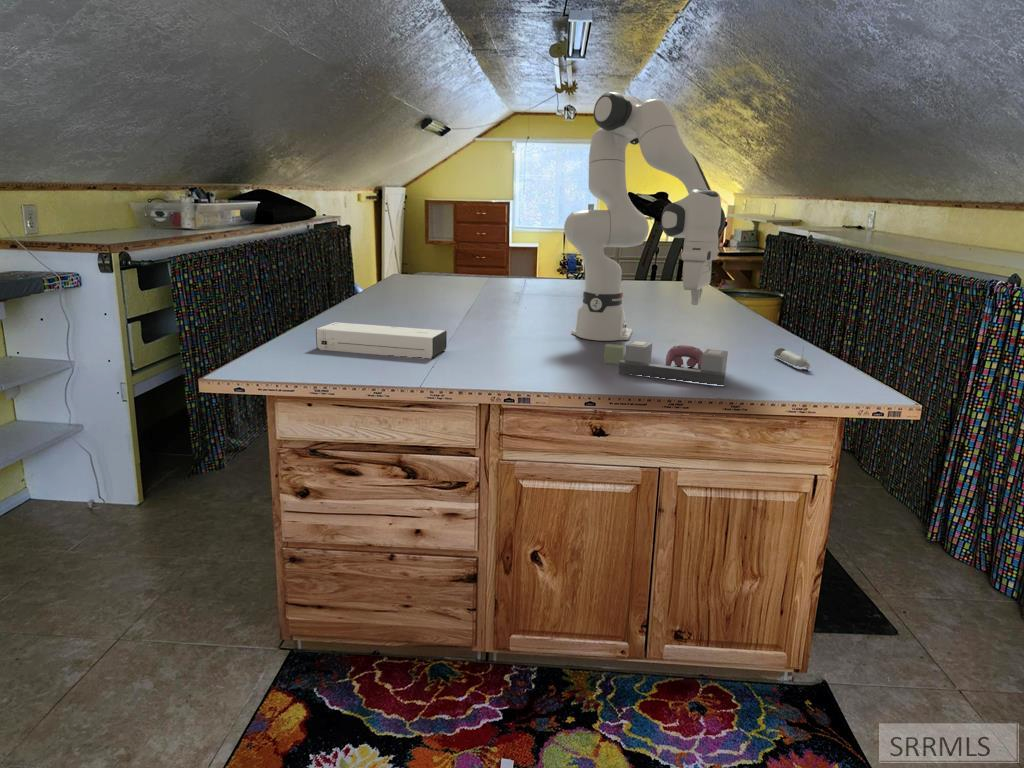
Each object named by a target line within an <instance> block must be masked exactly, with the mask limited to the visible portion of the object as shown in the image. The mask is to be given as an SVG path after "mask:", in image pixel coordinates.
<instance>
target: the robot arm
mask: <svg viewBox="0 0 1024 768" xmlns="http://www.w3.org/2000/svg"><path fill="white" fill-rule="evenodd" d="M596 100H597V101H596V102H595V104H594V107H593V119H594V122H595V124H596V125H597V126H598V127H599V128H598V129H597V130H595V132H593V134H592V136H591V141H590V147H589V155H588V189H589V192H590V194H591V195H592V196H593V197H595V198H597V199H598V200H600V201H602V202H603V203H604V204H605V205H606V208H607V209H581V210H580V209H579V210H577V211H572V212H570V213H569V215H567V217H566V218H565V221H564V225H563V231H564V236H565V238H566V239H567V241H568V242H569V243H570V244H571V245H572V246H573V247H574V248H575V249H576V250H577V251H578V253H579V255H580V257H581V258H582V261H583V264H584V265H583V266H584V282H585V283H584V290H583V292H582V305H581V306H579V308H578V309H577V316H576V325H575V329H572V330H571V334H572V335H574V336H576V337H578V338H582V339H585V340H591V341H603V342H604V341H605V342H608V341H609V342H610V341H629V340H630V338H631V336H632V334H633V329H632V328H628V327H627V314H626V312H625V310H624V308H623V307H622V303H623V297H624V292H623V291H621V288H622V274H623V271H622V267H621V266H620V264H619V263H618V262H617V261H616V260H614V259H612V258H611V257H609V256H607V255H606V254H605V250H604V249H605V248H631V247H637V246H641V245H643V243H644V242H645V241H646V240H647V238H648V236H649V232H650V231H649V230H650V226H649V222H648V218H647V217H646V216H645V214H644V213H642V212H641V211H640V210H638V209H637V207H636V206H635V205H634V204H633V202H632V201H631V198H630V196H629V194H628V193H629V192H628V190H627V182H626V181H627V180H626V179H627V178H626V149H627V146H628V144H629V143H630V144H631V145H633V146H634V145H638V144H639V147H640V151H641V154H642V157H643V159H644V161H646V163H647V164H648V165H649V167H652V168H653V169H655V170H658V171H660V172H663V173H666V174H668V175H670V176H672V177H674V178H676V179H677V180H679V181H680V182H681V183H682V184H683V185H684V187H685V189H686V192H687V194H688V195H686V196H685V197H684V198H682V199H679V200H677V201H674V202H670V203H668V204H667V205H666V206H665V207H664V209H663V210H662V213H661V216H660V226H661V229H662V231H663V233H664V234H665V235H666V236H668V237H670V238H676V239H684V241H683V251H682V253H681V260H682V261H683V266H682V287H683V290H685V291H690V293H691V296H690V297H691V305H693V306H697V305H699V304H700V303H701V297H702V295H703V294H702V293H703V290H704V289H703V288H704V287H707V286H708V285H710V284H711V279H712V262H713V261H716V260H718V259H717V258H718V250H719V236H720V234H721V233H722V231H723V230H724V227H725V226H726V225H725V224H726V214H725V211H724V209H723V207H722V200H721V196H720V193H718V192H717V191H714V190H712V188H711V187H710V185H709V182H708V181H707V178H706V175H705V174H704V172H703V169H702V167H701V165H700V163H699V161H698V160H697V158H696V156H694V154H693V153H692V152H690V150H689V149H688V148H687V146H686V145H685V143H684V142H683V140H682V138H681V135H680V133H679V129H678V127H677V124H676V121H675V119H674V116H673V114H672V112H671V110H670V108H669V107H668V105H667V104H666V102H664V101H663V100H661V99H658V98H653V99H648V100H646V101H644V100H643V99H640V98H639V97H635V96H631V95H627V94H626V95H625V94H622V93H619V92H614V91H611V92H606V93H603V94H602V95H601V96H599V98H598V99H596Z"/></svg>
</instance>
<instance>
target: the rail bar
mask: <svg viewBox="0 0 1024 768" xmlns="http://www.w3.org/2000/svg"><path fill="white" fill-rule="evenodd" d="M618 363H619V364H618V374H619V373H623V374H622V375H626V374H632V375H631V376H633V375H642V376H650V377H659V378H665V379H676V380H683V381H692V382H699V383H707V384H717V385H724V384H726V383H725V382H726V376H727V372H726V373H721V372H713V371H705V370H698V368H697V369H696V368H695V369H694V368H689V367H688V368H687V367H682V366H680V367H679V366H672V365H671V366H666V364H665V365H663V364H654V363H651V364H649V363H641V362H633V361H625V359H624V360H620V361H619V362H618Z"/></svg>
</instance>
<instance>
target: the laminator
mask: <svg viewBox="0 0 1024 768" xmlns="http://www.w3.org/2000/svg"><path fill="white" fill-rule="evenodd" d="M447 335H448V334H447V330H444V329H443V330H442V329H429V328H418V327H417V328H414V327H406V326H405V327H402V326H389V325H388V326H387V325H378V324H376V325H375V324H362V323H348V322H337V321H335V322H330V323H328V324H325V325H323V326H320V327H317V328H316V329H315V339H316V342H315V343H316V349H317V350H320V351H331V352H343V353H354V354H355V353H356V354H366V355H377V354H378V355H379V356H388V355H394V356H393V357H400V356H407V357H406V358H412V357H422V358H421V359H424V358H432V359H433V358H435V357H436V356H438V355H439V354H441V353H442V352H444V350H445V351H446V350H447V337H448V336H447ZM437 354H438V355H437ZM434 356H435V357H434Z"/></svg>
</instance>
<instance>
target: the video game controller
mask: <svg viewBox="0 0 1024 768" xmlns="http://www.w3.org/2000/svg"><path fill="white" fill-rule="evenodd" d="M703 353H704V352H703V350H702V349H700V348H699V347H695V346H692V345H686V344H685V345H684V344H682V345H674V346H672V347H671V348H669V350H668V351H667V354H666V357H665V366H672V363H674V365H675V366H676V365H677V366H676V367H679V366H680V367H682V366H683V365H684V359H683V358H688V359H687V360H686V366H687V367H688V366H690V367H693V368H695V366H696V365H697V370H698V369H699V370H701V361H702V354H703ZM681 365H682V366H681Z"/></svg>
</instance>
